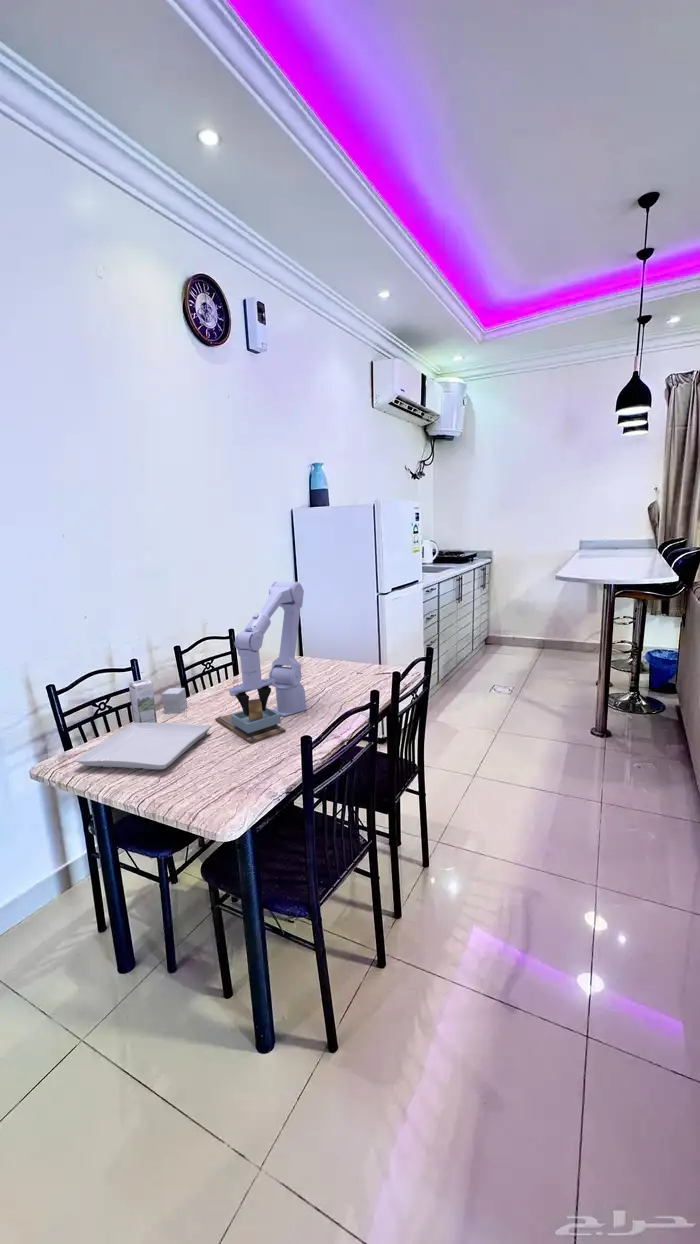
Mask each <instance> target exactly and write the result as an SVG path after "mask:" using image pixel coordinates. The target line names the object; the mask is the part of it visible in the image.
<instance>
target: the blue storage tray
mask: <svg viewBox="0 0 700 1244" xmlns="http://www.w3.org/2000/svg"><path fill="white" fill-rule="evenodd" d="M240 711H241V712H239V711H236V712H237V713H236V712H233V713H234V714H232V713H230V714H231V723H232V724H234V725H235V727H236V728H237V727H239V728H240V729H242V730H244V731H245V732H246V733H247V735H249V734H251V732H254V731H257V730H260V729H263V728H266V727H269V726H277V725H278V724H281V723H282V718H281V715H280V714H279V713H277V712H275V711H273V710H272V709H271V708H269V707H267V706H266V711H262V713H263V718H260V719H254V720H250V719H249V717H248V716H246V715H244V712H243V710H240ZM278 726H279V725H278Z"/></svg>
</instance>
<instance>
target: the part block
mask: <svg viewBox="0 0 700 1244" xmlns="http://www.w3.org/2000/svg"><path fill="white" fill-rule="evenodd" d="M248 717H249V719H250V720H254V719H260V718H263V713H262V703H261V701H260V699H259V698H255V699H254V698H253V699H250V700H249V716H248Z"/></svg>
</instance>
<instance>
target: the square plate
mask: <svg viewBox="0 0 700 1244" xmlns="http://www.w3.org/2000/svg"><path fill="white" fill-rule="evenodd" d="M211 728H212V725H210V724H194V723H193V724H192V723H178V722H176V723H175V722H174V723H172V722H157V723H134V722H132V723H131V724H129V725H127V726H125V727H124V728H122V729H120V730H119V731H117V732H116V733H114V734H112V735H111V736H109V737H108V738H106V739H104V740H102V742H100V743H98V744H97V745H96V746H94V747H92V748H91V749H90V750H88V751H87V752H85V753H84V754H82V755H81V756H79V757H78V758H77V759H75V762H76V763H79V764H81V765H84V766H89V767H101V766H103V767H104V768H112V767H127V768H126V769H135V768H143V769H142V770H165V769H167V768H168V767H169V766H170V765H172V764H173V763H174V762H175V761H176V760H177V759H178V758H179V757H180V756H182V755H183V754H184V753H185V752H186V751H188V749H190V747H192V746H193V745H195V744H196V743H197V742H198V741H199V740H201V739H202V738H203V737H205V736H206V734H207V733H208V731H210V730H211ZM107 758H108V760H107ZM103 759H105V760H103ZM101 760H103V761H101ZM114 760H115V761H114Z"/></svg>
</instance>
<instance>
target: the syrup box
mask: <svg viewBox="0 0 700 1244" xmlns="http://www.w3.org/2000/svg"><path fill="white" fill-rule="evenodd" d="M128 687H129V688H128V689H129V696H130V703H131V709H132V710H131V711H132V718H133V719H132V720H133V723H158V721H157V713H156V712H157V711H156V705H155V697H154V696H155V695H154V687H153V682H152V681H151V680H149V679H147V678H144V679H140V680H136V681H132V682H128Z"/></svg>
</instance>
